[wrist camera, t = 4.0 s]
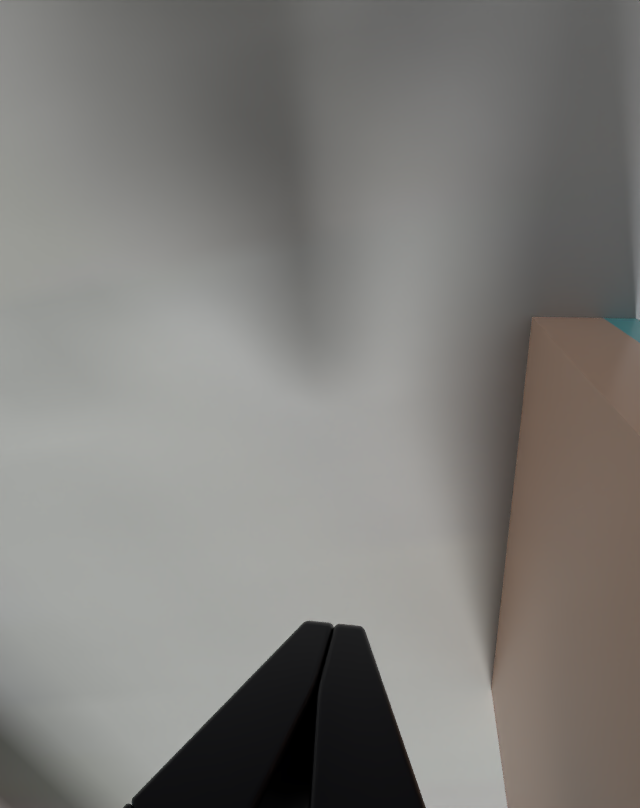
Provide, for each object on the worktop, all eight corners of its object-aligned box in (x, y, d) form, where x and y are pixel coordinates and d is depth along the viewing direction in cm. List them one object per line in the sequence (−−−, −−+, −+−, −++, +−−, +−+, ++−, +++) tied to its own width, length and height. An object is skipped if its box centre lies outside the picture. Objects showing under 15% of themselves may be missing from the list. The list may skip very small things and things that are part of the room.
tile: (634, 318, 9) (1130, 602, 3) (570, 696, 12) (744, 1290, 5) (531, 316, 10) (763, 573, 3) (490, 687, 12) (566, 1242, 6)
